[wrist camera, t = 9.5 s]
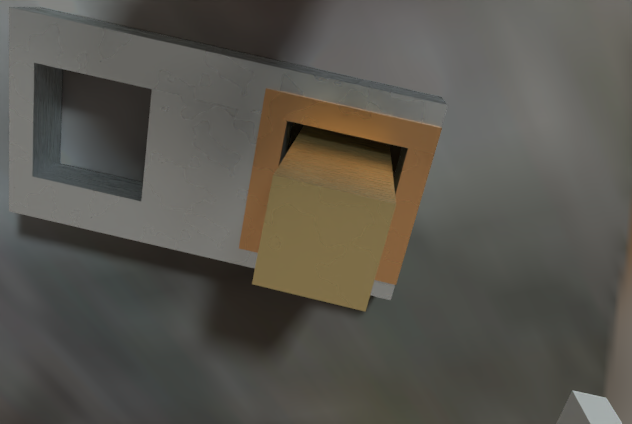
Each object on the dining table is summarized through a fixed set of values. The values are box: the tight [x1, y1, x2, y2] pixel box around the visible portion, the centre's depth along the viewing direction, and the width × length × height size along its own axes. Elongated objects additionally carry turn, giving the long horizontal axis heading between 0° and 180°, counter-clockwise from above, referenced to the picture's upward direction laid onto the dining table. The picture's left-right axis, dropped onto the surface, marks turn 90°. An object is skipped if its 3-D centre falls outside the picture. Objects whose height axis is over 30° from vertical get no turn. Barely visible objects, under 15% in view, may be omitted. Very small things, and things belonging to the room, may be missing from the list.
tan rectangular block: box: [252, 125, 396, 312], centre depth 24 cm, size 4×4×9 cm
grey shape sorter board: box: [9, 7, 448, 300], centre depth 27 cm, size 20×10×3 cm, turn 78°
